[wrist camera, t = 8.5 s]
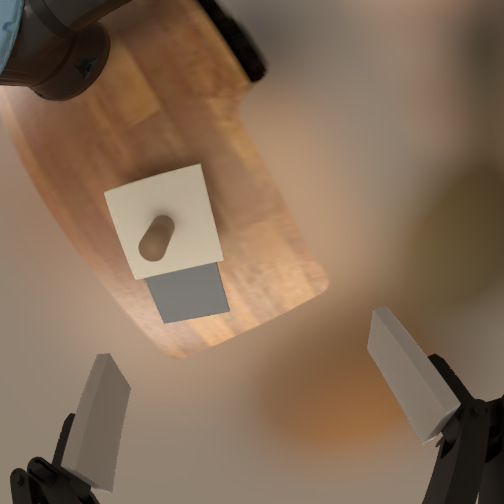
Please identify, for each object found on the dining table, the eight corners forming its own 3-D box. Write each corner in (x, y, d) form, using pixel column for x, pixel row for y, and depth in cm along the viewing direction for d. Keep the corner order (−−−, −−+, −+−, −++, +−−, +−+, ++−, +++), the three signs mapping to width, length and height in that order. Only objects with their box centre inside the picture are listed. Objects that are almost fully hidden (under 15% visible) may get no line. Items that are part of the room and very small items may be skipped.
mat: (140, 263, 46) (139, 265, 45) (212, 247, 46) (212, 248, 46) (164, 322, 51) (164, 323, 51) (229, 310, 52) (229, 311, 51)
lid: (106, 190, 32) (80, 207, 25) (200, 162, 33) (195, 172, 25) (137, 276, 38) (122, 308, 31) (223, 256, 38) (226, 288, 31)
